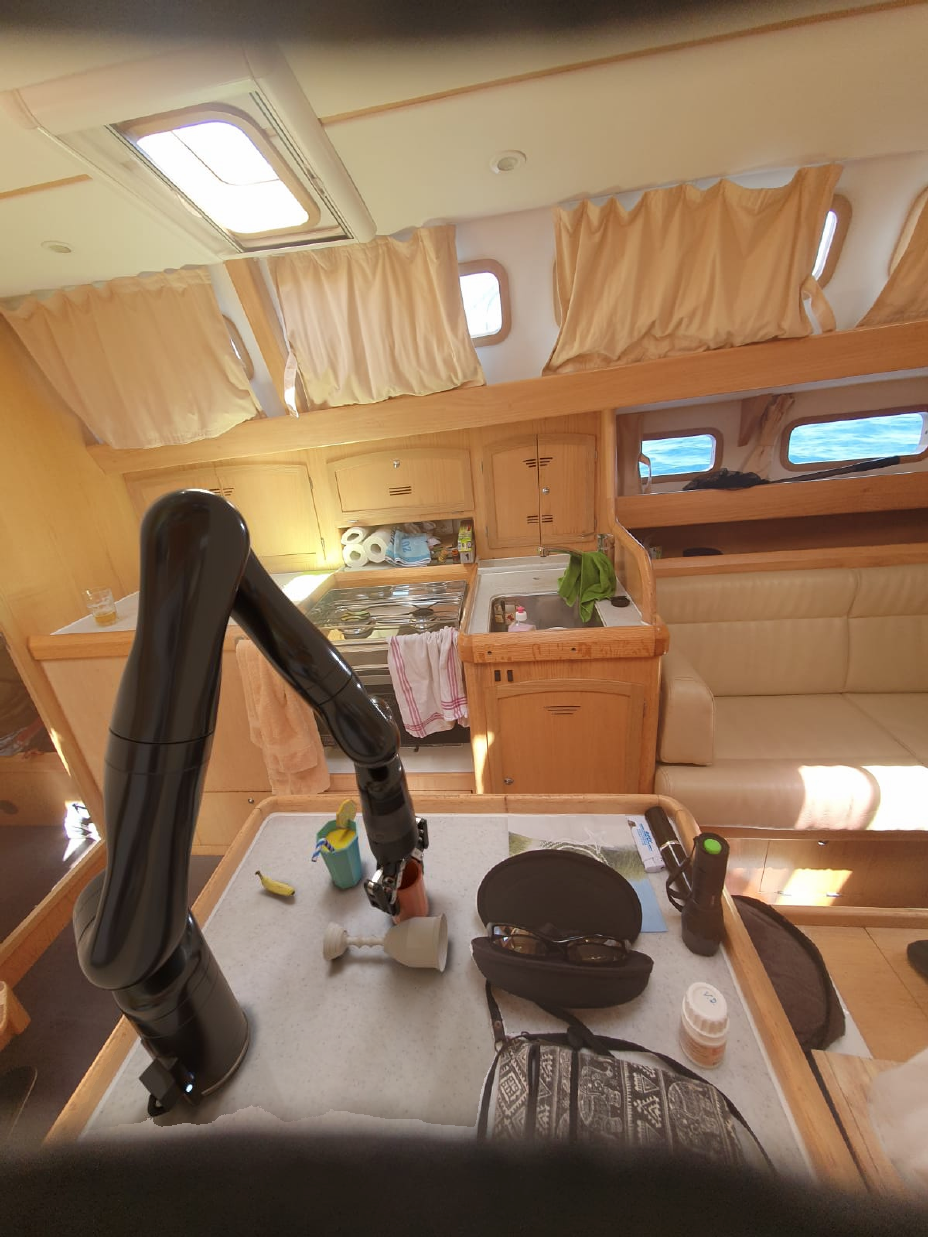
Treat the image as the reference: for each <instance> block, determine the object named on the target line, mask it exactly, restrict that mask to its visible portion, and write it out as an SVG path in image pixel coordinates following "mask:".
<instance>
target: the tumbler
mask: <svg viewBox="0 0 928 1237" xmlns="http://www.w3.org/2000/svg"><path fill="white" fill-rule="evenodd" d="M389 878H392V879H394V880H395V877H389ZM386 891H388V892H390V891H391V890H390V888H388V887H387V890H386ZM396 898H397V899H398V903H399V907H400V913H399V915H398V916H394V917H393V916H391V919H392V921H393V923H394V924H395V925H397V924H399V923H401V922H403V921H405V920H408V919H410V918H413V917H428V914H429V902H428V896H427V890H426V885H425V881H424V875H423V874H422V870H421V866H420V864H419V863H418V862H417V860H415V859H413V858H411V860H410V862H409V863H408V865H407V866H406V867H405V869H404V870H403V874H402V881H401V886H400V887H399V888H398V889H397V896H396Z"/></svg>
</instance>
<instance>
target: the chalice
mask: <svg viewBox="0 0 928 1237" xmlns="http://www.w3.org/2000/svg"><path fill="white" fill-rule="evenodd" d="M448 932H449V930H448V921H447V916H446V913H445V912H443V913H441V914H440V915H438V916H426V917H413V918H410V919H408V920H405V921H403V922H401V923H399V924H397V925H396V924H395V925H393V926H391V928H389V929H387V930H386V931H385V933H384V936H381V937H378V936H374V934H371V935H369V936H367V937H365V936H363V935H362V933H360V934H359V935H358V936H355V937H354V936H350V935H349V934H348V931H347V929H346V928H345V927H344V926H341V925H340V924H338V923H336V922H335V921H331V922H330V923H329V924H328V926H327V928H326V930H325V933H324V936H323V943H322V955H323V959H324V961H325V962H330V961H332V960H333V959H336V958H338V957H341V956H342V955H343V954H344V952H346V950H347V948H348V947H349V946H355V947H357V949H360V948H362V947H364V946H367V947H369V948H370V949H371V948H373V947H375V946H382V947H383V952H384V953H385V954H386V955H388V957H390V958H392V959H394V960H395V961H397V962H398V963H399V964H400V963H401V964H402V965H405V966H406V967H409V968H435V969H437V971H439V972H441V973H443V972H444V971H445V967H446V963H447V955H448V943H449V942H448V941H449V939H448V938H449V936H448V935H449V934H448Z"/></svg>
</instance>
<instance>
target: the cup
mask: <svg viewBox="0 0 928 1237" xmlns="http://www.w3.org/2000/svg"><path fill="white" fill-rule="evenodd" d="M356 816H357V803H356V802H355V801H354V800H353V799H352V798H348V799H346V800H344V801H343V802H341V804H340V806H339V808H338V810H337V812H336V815H335V819H332V820H329V821H327V822H326V824H324V825H323V826H322V827H321V829H320V830H318V831H317V833H316V834H315V835H316V836H315V849H314V852H313V854H312V857H311V862H313V863H316V862H317V860H318V858H319V856H320V855H321V858H322V860H323V861H324V864H325V866H326V868H327V870H328V872H329V875H330V877H331V879H332V880H333V883H334V885H335V886H336V887H339V888H340V889H343V890H345V889H348V888H352V887H355V886H356V885H357V884H358V883H359V881H360V880H361V879H362V878H363V865H362V859H361V850H360V843H359V828H358V827H359V826H358V822H357V821H355V818H356Z"/></svg>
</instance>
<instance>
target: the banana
mask: <svg viewBox="0 0 928 1237" xmlns="http://www.w3.org/2000/svg"><path fill="white" fill-rule="evenodd" d="M254 875H255V876H256V875H257V876H258V877H259V879H260V880H261V881H260V882H261V885H262V887H263V888H264V889H266V890H267V891H268V892H271V893H274V894H276V895H280V896H284V897H292V896H294V895H295V893H296V891H295V889H294V887H292V886H290V885H288V884H286V883H282V882H279V881H276V880H273V879H271V878H269V877H266V876H264V875H263V874H262V873H261V870H256V871H255V873H254Z"/></svg>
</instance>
